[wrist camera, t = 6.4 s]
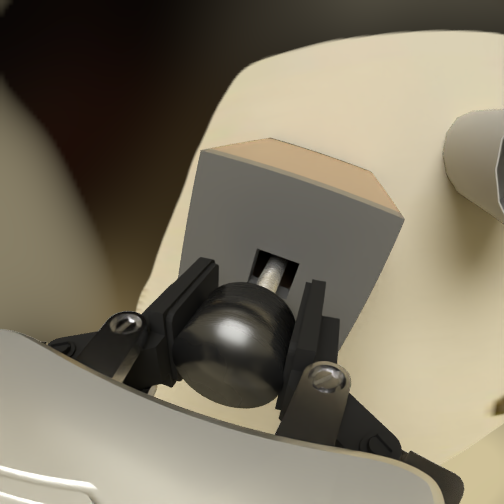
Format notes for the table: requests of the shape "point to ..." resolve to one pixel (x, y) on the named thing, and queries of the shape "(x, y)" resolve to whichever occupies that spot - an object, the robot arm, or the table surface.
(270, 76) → the table surface
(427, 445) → the table surface
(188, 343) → the lever with black knob
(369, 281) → the tan lever base
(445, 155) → the cup
